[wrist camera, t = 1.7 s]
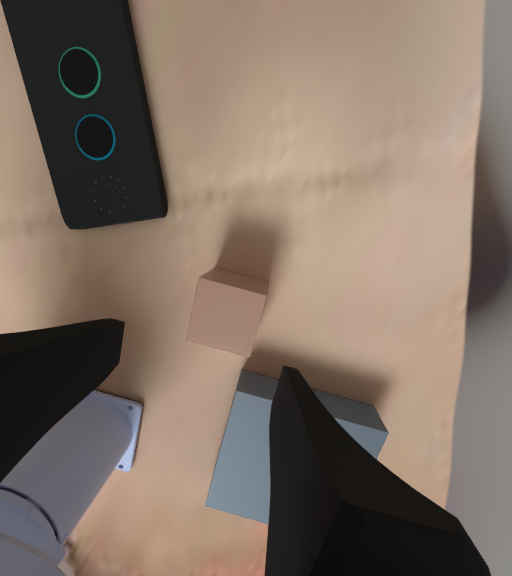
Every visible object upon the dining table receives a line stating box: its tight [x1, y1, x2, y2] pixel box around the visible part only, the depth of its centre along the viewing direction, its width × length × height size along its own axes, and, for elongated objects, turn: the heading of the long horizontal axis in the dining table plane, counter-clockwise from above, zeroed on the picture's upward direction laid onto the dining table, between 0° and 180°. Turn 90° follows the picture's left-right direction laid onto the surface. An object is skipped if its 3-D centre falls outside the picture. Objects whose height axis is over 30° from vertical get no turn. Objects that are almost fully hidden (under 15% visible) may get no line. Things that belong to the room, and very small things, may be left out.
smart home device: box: [1, 0, 168, 229], centre depth 18 cm, size 8×2×20 cm
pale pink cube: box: [186, 268, 269, 358], centre depth 19 cm, size 4×4×4 cm
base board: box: [205, 370, 389, 524], centre depth 22 cm, size 12×12×3 cm
